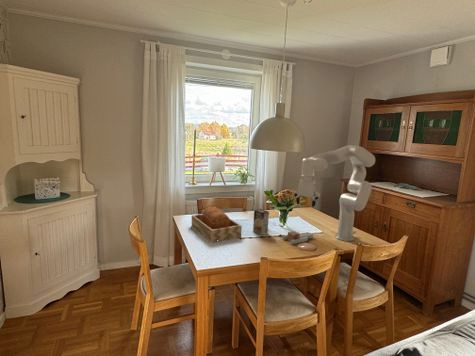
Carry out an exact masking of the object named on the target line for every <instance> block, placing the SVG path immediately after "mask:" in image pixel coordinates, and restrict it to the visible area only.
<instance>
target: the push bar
mask: <svg viewBox="0 0 475 356" xmlns="http://www.w3.org/2000/svg"><path fill="white" fill-rule="evenodd" d="M299 234H300V238H304V237H308V240H310V239H311V240H312V239H314V234H313V233H311V232H308V231H307V232H302V233H299Z"/></svg>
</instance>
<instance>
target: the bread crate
mask: <svg viewBox="0 0 475 356" xmlns="http://www.w3.org/2000/svg"><path fill="white" fill-rule="evenodd" d="M202 215H203V213H201V214H200V213H198V214H194V215H193V214H192V215H191V227H192V226H193V227H192V228H193V229H194V230H196V231H197V232H198V233H199V234H201V236H203V235H204V236H205V237H204V236H203V237H204V238H206V240H208V239H209V240H210V241H211V242H210V241H209V240H208V241H209V242H210V243H213V242H212V241H216V242H218V241H217V240H222V241H224V240H223V239H227V240H231V239H230V238H232V239H237V238H240V237H239V236H241V237H242V230H243V229H242V227H243V226H242V225H241V224H240V223H238V222H236V221H235V220H233V219H231V218H230V217H229V222H230V227H226V228H220V229H214V230H212V229H211V228H210V227H208V226H207V225H206V224H204V223H203V222H202ZM236 237H237V238H236Z"/></svg>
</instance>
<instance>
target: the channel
mask: <svg viewBox="0 0 475 356" xmlns="http://www.w3.org/2000/svg"><path fill="white" fill-rule="evenodd" d="M287 239H288V234H287V235H285V234H284V235H282V240H283V241H286V240H287ZM308 240H309V239H308V237H304V238H299V239H295V240H291V241H290V245H295V244H299V243H305V242H308Z"/></svg>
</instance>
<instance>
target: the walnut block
mask: <svg viewBox="0 0 475 356" xmlns="http://www.w3.org/2000/svg"><path fill="white" fill-rule="evenodd" d="M300 234H301V233H300V232H297V231H295V230H292V231H288V232H287V235H288V239H286V241H289V242H291V240H295V239H299V238H300Z"/></svg>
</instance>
